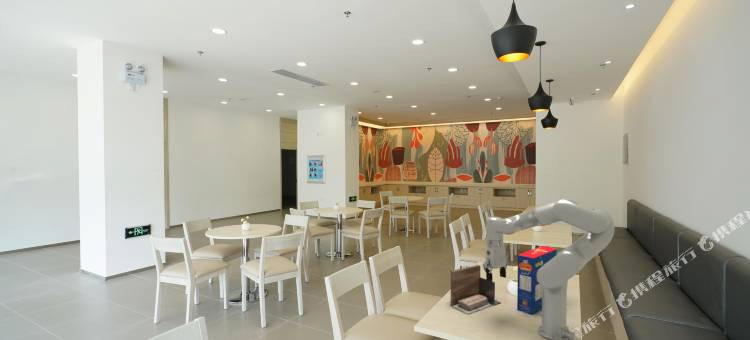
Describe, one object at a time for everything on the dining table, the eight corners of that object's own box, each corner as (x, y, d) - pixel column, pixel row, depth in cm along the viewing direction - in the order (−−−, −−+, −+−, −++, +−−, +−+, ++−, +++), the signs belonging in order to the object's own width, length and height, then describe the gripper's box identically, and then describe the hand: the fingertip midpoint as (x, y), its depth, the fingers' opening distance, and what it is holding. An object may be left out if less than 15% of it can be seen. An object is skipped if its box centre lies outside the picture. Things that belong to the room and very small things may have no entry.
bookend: (501, 303, 188) (501, 280, 187) (493, 305, 185) (494, 282, 184) (485, 297, 196) (486, 275, 196) (478, 299, 193) (479, 277, 193)
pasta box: (541, 296, 198) (542, 246, 197) (556, 300, 192) (557, 248, 191) (517, 310, 179) (517, 254, 178) (533, 315, 173) (533, 258, 172)
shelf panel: (480, 298, 194) (480, 265, 193) (453, 306, 183) (453, 271, 182) (477, 297, 195) (477, 264, 195) (450, 305, 185) (450, 270, 184)
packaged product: (475, 292, 192) (491, 297, 184) (475, 300, 192) (491, 307, 184) (452, 299, 182) (468, 306, 173) (452, 308, 182) (468, 315, 174)
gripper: (489, 246, 162) (490, 284, 162) (513, 241, 172) (514, 277, 172) (476, 244, 169) (477, 280, 169) (500, 239, 178) (501, 273, 178)
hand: (496, 278), depth 170 cm, fingers open, 9 cm apart
